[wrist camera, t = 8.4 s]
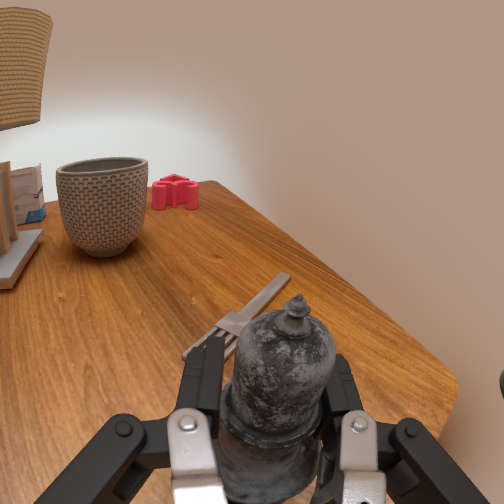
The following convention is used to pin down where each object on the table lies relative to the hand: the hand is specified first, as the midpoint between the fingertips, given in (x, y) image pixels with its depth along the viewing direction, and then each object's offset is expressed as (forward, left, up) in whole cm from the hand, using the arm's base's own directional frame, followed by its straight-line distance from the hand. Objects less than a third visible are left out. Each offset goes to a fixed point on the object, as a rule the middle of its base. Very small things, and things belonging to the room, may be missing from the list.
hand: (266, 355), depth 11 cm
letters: (+8, -57, -10) cm, 59 cm away
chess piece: (0, +3, -7) cm, 8 cm away
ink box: (+41, -44, -10) cm, 61 cm away
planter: (+17, -31, -10) cm, 37 cm away
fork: (-3, -15, -10) cm, 18 cm away
